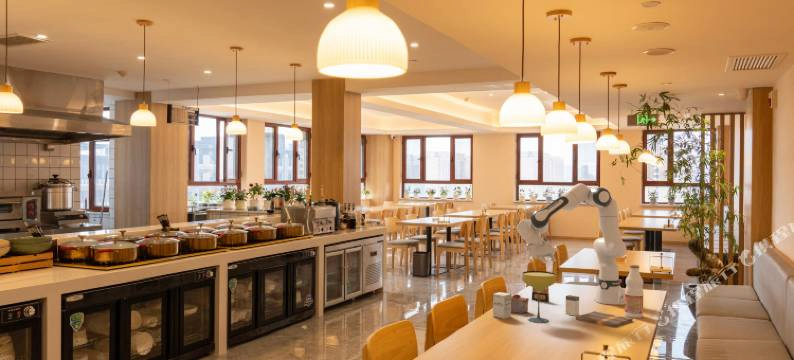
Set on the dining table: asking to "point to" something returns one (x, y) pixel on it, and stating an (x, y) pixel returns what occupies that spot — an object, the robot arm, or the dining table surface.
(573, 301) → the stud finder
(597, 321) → the board
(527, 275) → the cocktail glass
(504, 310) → the supplement box
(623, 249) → the robot arm
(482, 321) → the dining table surface
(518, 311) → the food item
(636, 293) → the fruit juice
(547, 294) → the thin brown box
